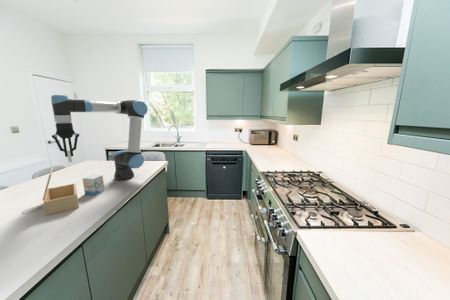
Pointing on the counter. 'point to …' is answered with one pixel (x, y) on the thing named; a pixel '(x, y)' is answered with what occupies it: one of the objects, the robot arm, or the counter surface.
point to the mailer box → (60, 199)
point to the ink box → (93, 184)
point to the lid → (47, 183)
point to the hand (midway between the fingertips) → (70, 161)
